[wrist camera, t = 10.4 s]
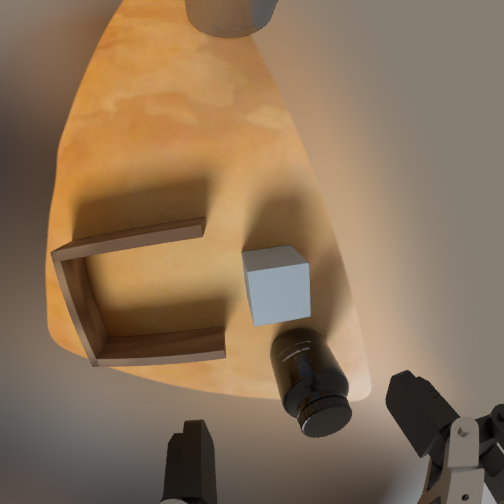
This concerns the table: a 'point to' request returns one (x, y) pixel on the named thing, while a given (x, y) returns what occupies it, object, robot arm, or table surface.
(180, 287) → the table surface
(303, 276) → the slate block
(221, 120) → the table surface
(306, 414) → the supplement bottle
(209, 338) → the brown three-sided frame
